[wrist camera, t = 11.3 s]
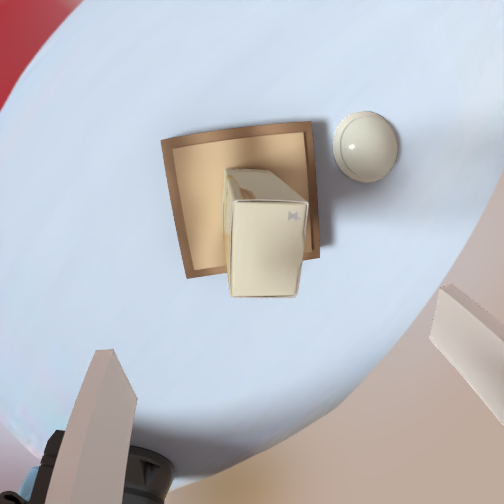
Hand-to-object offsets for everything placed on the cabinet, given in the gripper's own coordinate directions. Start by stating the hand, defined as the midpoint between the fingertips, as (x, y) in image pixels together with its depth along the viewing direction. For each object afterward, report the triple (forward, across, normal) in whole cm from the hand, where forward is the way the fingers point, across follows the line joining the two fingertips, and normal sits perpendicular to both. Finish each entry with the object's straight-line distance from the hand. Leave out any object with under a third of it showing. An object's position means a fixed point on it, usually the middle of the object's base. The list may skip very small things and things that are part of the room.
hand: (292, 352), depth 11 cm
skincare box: (+20, +1, +1) cm, 20 cm away
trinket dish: (+23, +15, +5) cm, 28 cm away
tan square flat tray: (+23, +1, +1) cm, 23 cm away
